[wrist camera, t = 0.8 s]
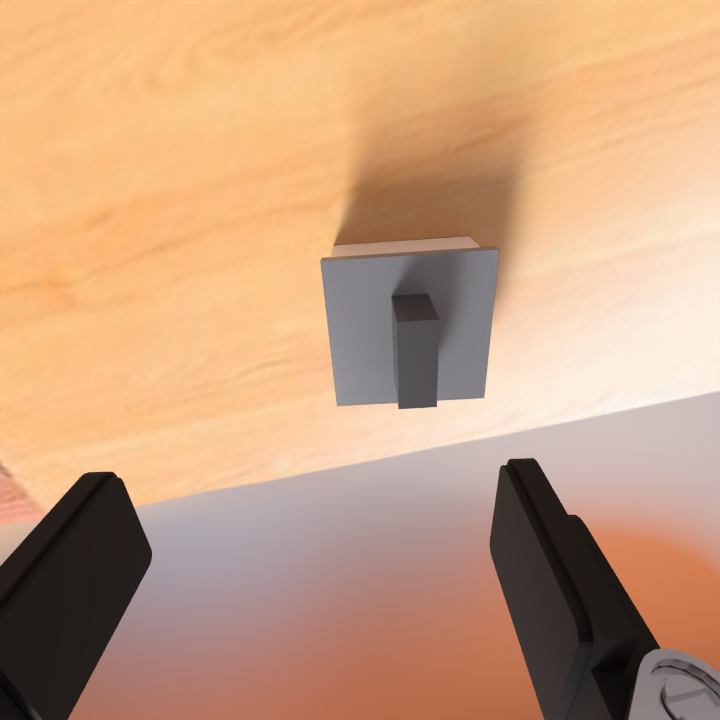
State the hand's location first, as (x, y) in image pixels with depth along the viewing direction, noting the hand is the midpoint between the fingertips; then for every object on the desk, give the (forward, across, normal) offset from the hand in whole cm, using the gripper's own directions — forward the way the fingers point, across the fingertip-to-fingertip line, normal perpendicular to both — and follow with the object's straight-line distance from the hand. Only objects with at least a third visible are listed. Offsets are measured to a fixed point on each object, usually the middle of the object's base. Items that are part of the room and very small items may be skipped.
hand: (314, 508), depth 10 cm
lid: (+23, -5, +5) cm, 24 cm away
